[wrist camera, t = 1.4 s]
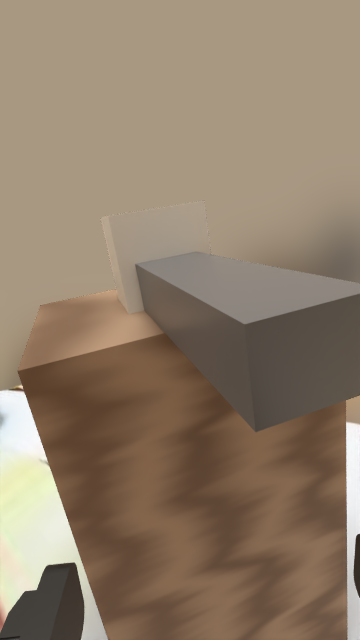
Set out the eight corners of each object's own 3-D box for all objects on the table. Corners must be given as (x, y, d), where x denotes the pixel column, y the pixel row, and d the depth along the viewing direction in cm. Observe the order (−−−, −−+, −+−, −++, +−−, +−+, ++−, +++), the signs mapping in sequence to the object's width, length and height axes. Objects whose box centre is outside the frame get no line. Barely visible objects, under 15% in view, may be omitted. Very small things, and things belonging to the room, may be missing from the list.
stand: (262, 517, 43) (235, 263, 33) (347, 643, 30) (345, 286, 20) (120, 577, 38) (40, 305, 28) (147, 757, 25) (17, 371, 15)
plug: (191, 282, 28) (179, 205, 26) (406, 378, 10) (418, 158, 8) (118, 298, 26) (100, 217, 24) (220, 444, 9) (184, 194, 7)
